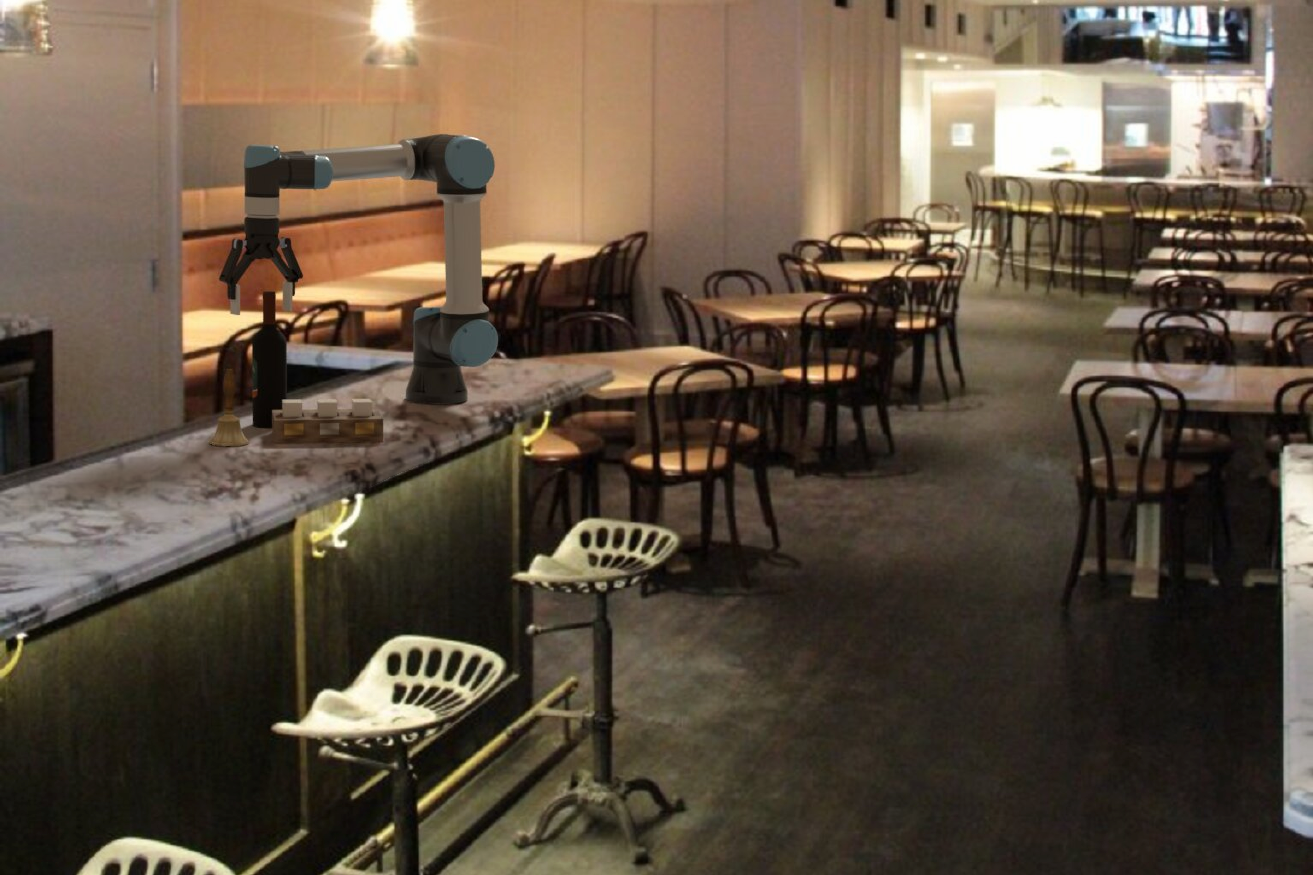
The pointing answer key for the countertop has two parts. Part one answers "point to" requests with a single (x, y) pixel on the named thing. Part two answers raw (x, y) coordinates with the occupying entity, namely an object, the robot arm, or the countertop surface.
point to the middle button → (326, 407)
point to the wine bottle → (268, 366)
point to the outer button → (292, 408)
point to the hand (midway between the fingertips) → (261, 312)
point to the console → (327, 427)
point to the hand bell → (229, 418)
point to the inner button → (361, 407)
